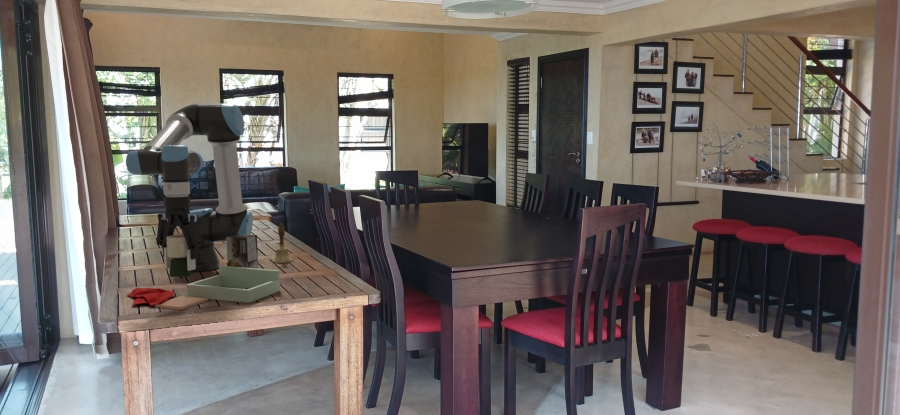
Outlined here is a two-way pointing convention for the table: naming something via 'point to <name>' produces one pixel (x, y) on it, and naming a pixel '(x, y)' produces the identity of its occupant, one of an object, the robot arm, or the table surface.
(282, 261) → the hand bell
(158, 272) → the table surface
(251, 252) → the coffee box
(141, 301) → the cloth
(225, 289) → the frame
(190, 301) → the terracotta tile
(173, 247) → the character mug
